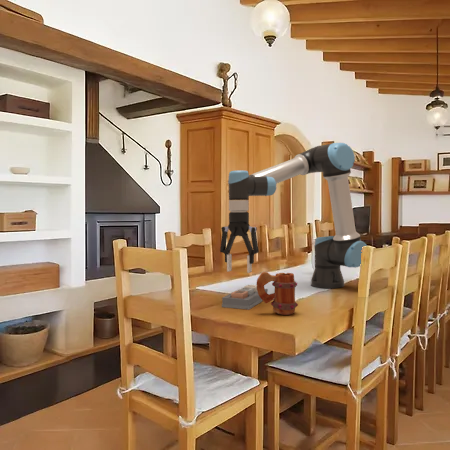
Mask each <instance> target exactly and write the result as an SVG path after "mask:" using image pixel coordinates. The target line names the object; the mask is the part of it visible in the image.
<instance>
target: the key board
mask: <svg viewBox="0 0 450 450" xmlns="http://www.w3.org/2000/svg"><path fill="white" fill-rule="evenodd" d="M244 287H245V286H243V287H242V288H244ZM236 291H238V289H237V290H236ZM265 292H266V293H267V294H268V288H265ZM221 300H222V303H221V308H227V309H228V308H229V309H230V308H231V309H239V310H250V309H252V308H254V307H255V306H257V305H258V304H260V303H262V302H264V301H263V300H262V299H261V298H260V296H259V295H258V292H254V294H252V295H248V297H247V298H245V299H241V298H231V293H229V294H227V295H225V296H222V298H221Z"/></svg>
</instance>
